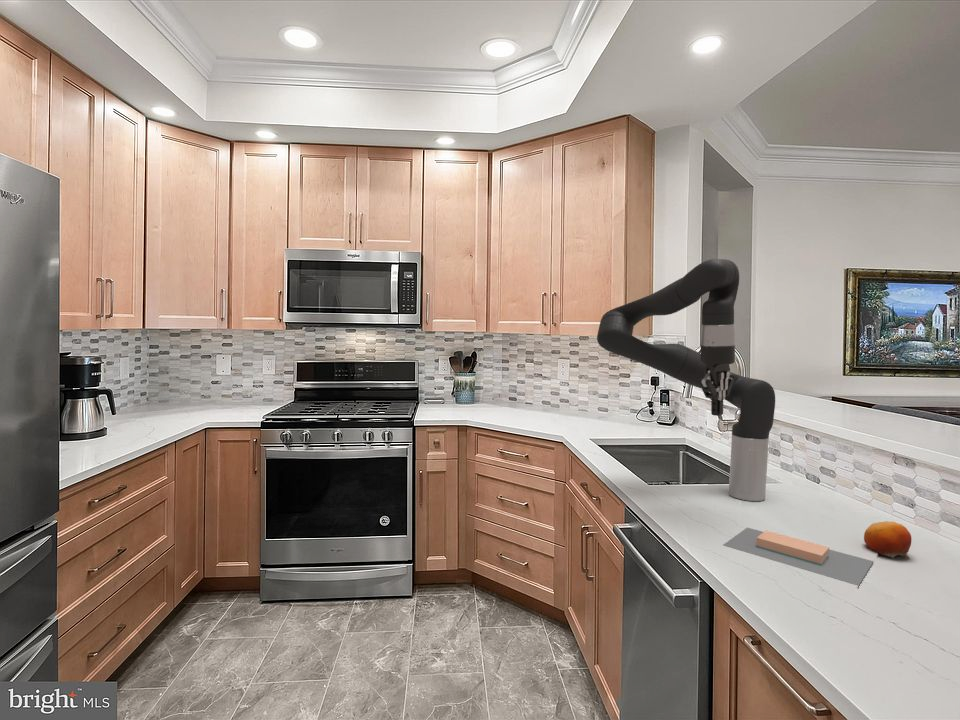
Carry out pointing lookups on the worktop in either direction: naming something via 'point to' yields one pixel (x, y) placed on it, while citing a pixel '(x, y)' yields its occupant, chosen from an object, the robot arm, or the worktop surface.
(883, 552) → the fruit
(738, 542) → the mat
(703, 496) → the worktop surface
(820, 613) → the worktop surface
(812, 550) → the tile
